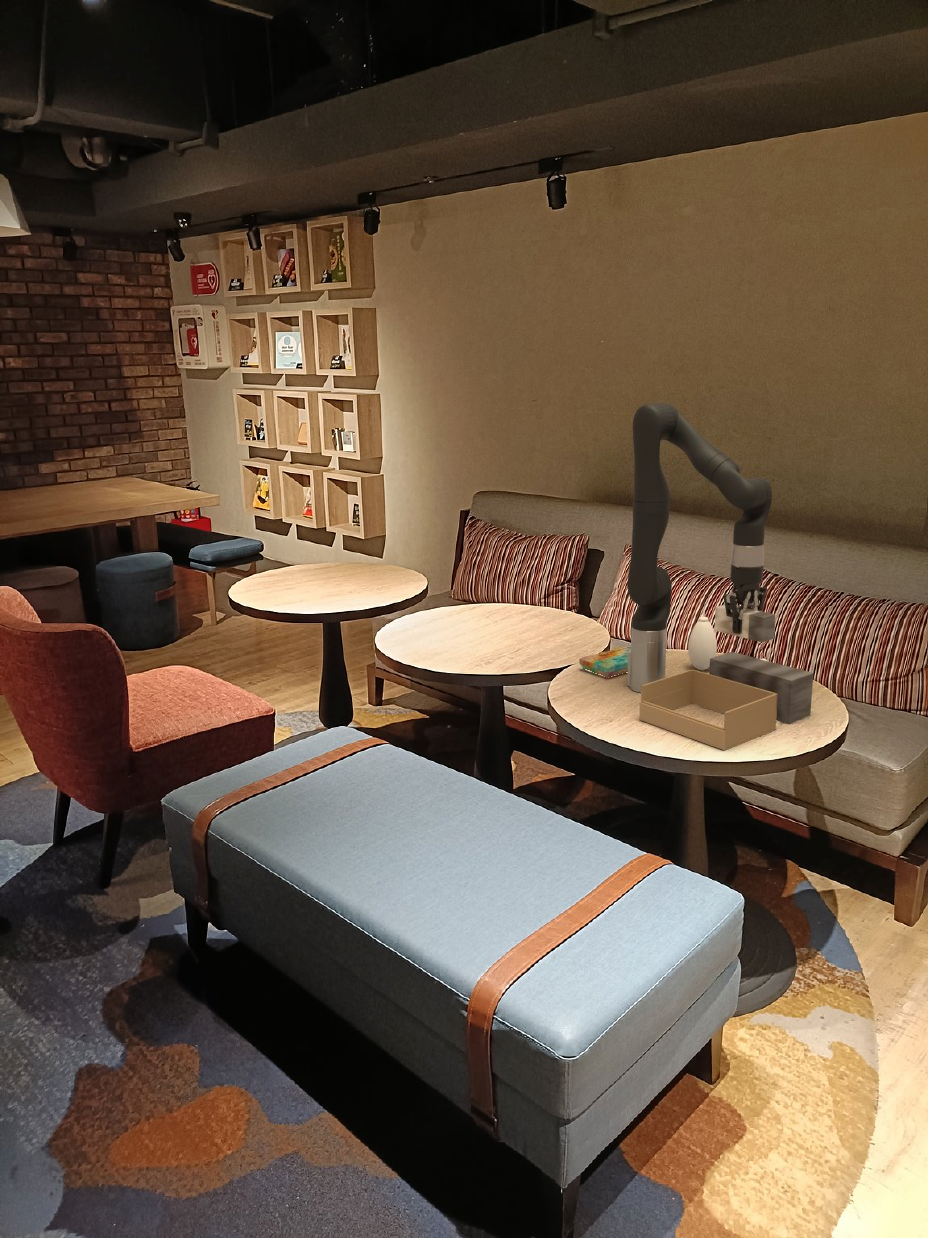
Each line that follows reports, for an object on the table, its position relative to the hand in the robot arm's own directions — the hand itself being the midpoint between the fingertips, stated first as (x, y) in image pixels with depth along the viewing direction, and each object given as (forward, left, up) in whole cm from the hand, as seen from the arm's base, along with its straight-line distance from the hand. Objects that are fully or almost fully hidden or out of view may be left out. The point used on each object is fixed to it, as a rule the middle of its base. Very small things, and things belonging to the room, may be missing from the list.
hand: (743, 631), depth 225 cm
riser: (0, +7, -21) cm, 23 cm away
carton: (0, -12, -21) cm, 25 cm away
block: (0, 0, -1) cm, 1 cm away
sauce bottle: (-29, +21, -22) cm, 42 cm away
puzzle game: (-45, +5, -22) cm, 51 cm away
